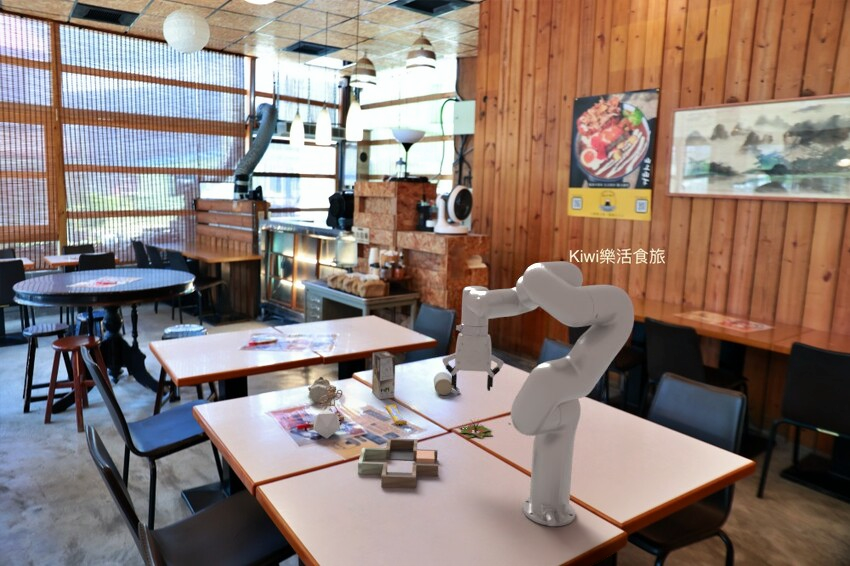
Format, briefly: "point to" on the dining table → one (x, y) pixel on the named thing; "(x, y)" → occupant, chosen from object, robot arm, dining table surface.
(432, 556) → the dining table surface
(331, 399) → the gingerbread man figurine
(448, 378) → the ceramic mug
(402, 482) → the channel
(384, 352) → the coffee box
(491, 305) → the robot arm
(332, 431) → the die
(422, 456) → the block
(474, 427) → the lily flower
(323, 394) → the ceramic sculpture
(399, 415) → the candy bar
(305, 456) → the dining table surface
